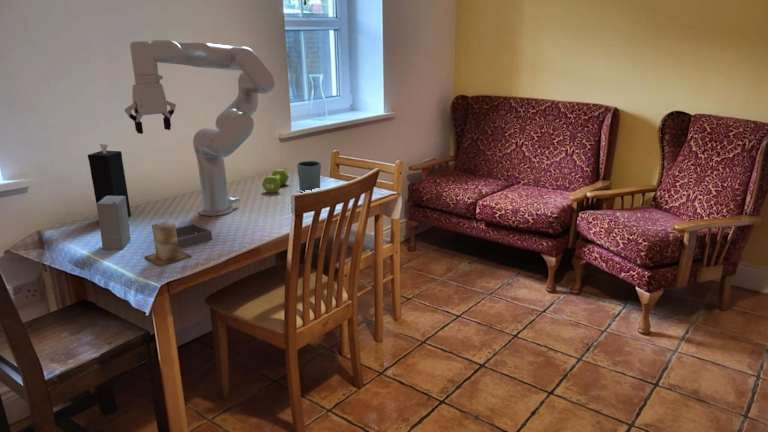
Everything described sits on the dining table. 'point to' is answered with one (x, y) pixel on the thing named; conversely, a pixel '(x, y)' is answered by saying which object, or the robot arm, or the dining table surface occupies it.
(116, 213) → the skincare box
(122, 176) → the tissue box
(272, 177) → the dumbbell
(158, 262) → the walnut board
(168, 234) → the beech block
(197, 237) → the bin
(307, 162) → the grey cup
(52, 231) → the dining table surface
